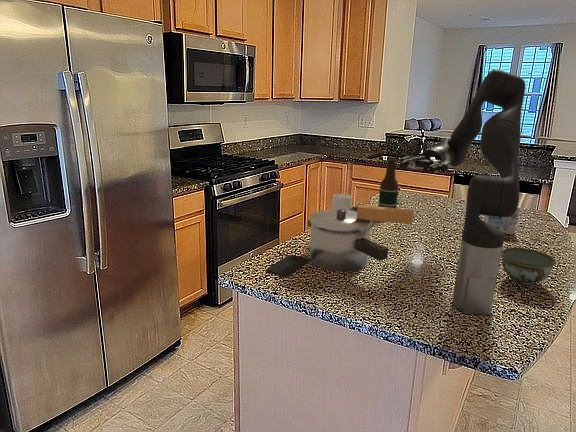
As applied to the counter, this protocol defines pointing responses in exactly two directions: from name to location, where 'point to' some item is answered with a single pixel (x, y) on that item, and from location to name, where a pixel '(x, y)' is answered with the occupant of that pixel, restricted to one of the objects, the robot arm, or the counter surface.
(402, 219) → the lid
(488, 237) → the robot arm
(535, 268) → the bowl
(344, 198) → the drinking glass
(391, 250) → the counter surface
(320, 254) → the pot
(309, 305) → the counter surface
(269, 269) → the phone
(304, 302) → the counter surface
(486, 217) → the light bulb box
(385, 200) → the beer bottle
